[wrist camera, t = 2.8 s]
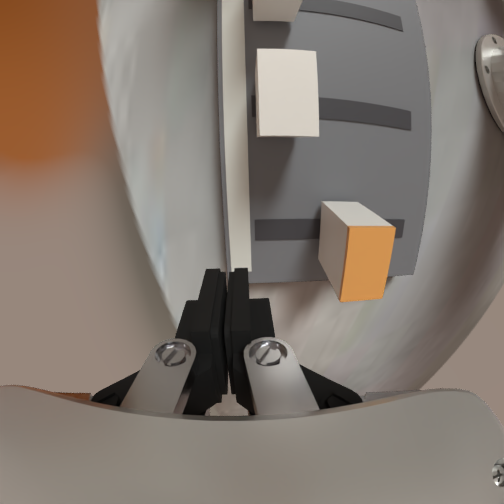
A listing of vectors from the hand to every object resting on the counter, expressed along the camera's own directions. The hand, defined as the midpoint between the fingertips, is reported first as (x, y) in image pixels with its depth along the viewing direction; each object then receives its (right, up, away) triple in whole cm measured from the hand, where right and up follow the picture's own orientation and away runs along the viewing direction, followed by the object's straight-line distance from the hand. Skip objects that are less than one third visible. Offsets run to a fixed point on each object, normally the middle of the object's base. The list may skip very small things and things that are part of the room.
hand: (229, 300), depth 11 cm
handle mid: (+2, +11, +3) cm, 11 cm away
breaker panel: (+6, +12, +6) cm, 15 cm away
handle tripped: (+7, +3, +6) cm, 10 cm away
